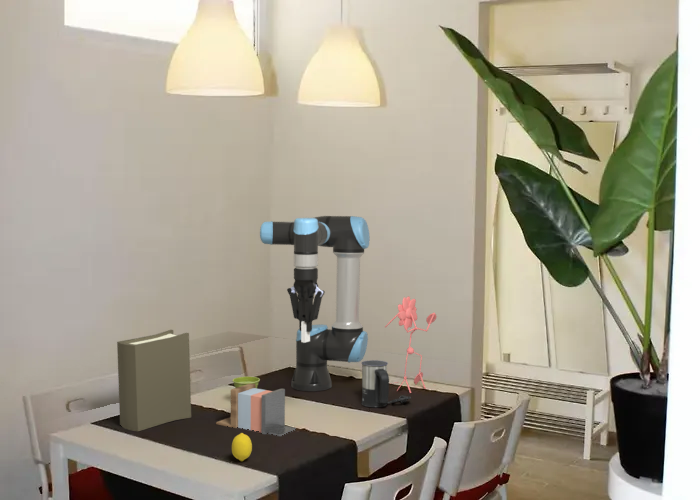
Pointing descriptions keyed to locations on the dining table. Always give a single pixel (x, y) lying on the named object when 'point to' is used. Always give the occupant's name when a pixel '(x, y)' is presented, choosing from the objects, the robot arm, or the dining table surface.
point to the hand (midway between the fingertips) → (305, 341)
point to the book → (154, 380)
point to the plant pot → (245, 381)
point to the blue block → (245, 407)
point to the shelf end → (235, 406)
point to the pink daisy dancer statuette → (406, 318)
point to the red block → (257, 410)
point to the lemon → (241, 447)
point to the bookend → (274, 413)
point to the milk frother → (376, 384)
